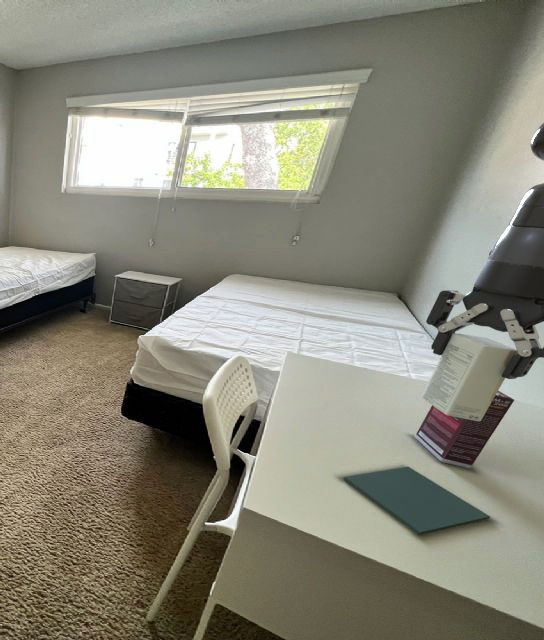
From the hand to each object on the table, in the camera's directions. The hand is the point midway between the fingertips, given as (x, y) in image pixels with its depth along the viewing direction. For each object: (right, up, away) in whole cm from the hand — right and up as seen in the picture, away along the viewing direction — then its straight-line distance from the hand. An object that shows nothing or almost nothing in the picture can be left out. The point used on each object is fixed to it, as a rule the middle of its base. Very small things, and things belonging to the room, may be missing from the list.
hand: (471, 365), depth 55 cm
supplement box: (+16, -21, +17) cm, 31 cm away
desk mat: (-4, -24, +5) cm, 24 cm away
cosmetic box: (0, -8, +3) cm, 8 cm away
